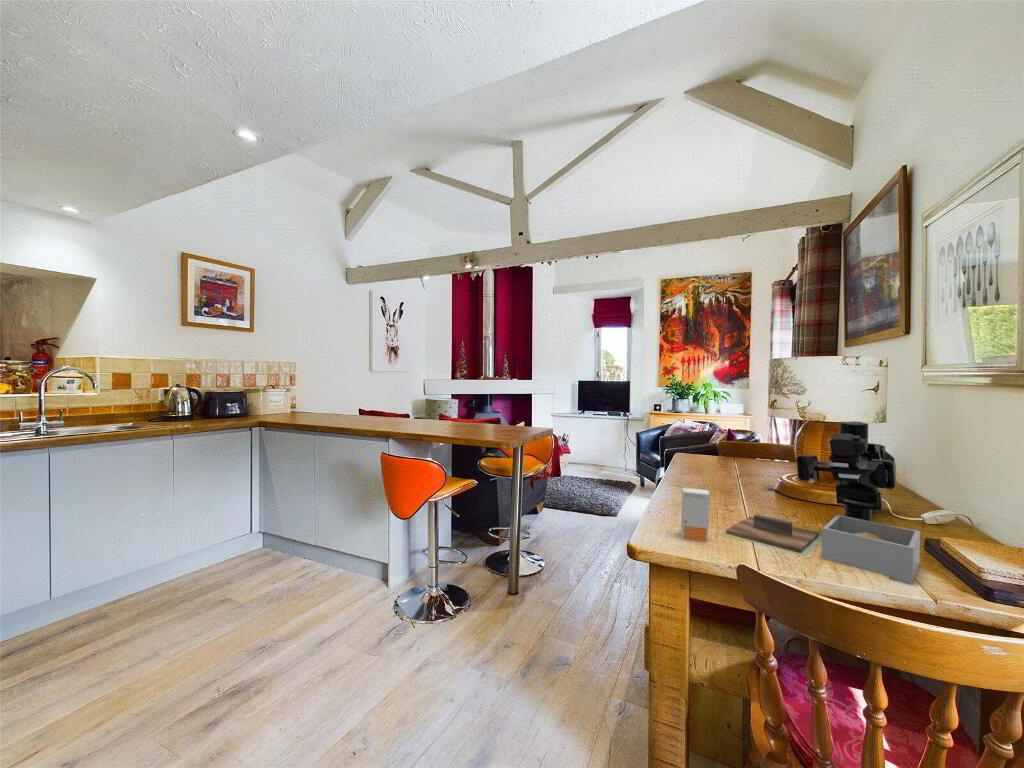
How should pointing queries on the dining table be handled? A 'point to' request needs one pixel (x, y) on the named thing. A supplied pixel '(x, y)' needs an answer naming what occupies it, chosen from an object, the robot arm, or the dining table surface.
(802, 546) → the walnut lid
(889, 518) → the dining table surface
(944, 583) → the dining table surface
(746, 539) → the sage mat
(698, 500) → the skincare box
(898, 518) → the dining table surface
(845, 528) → the bread box
